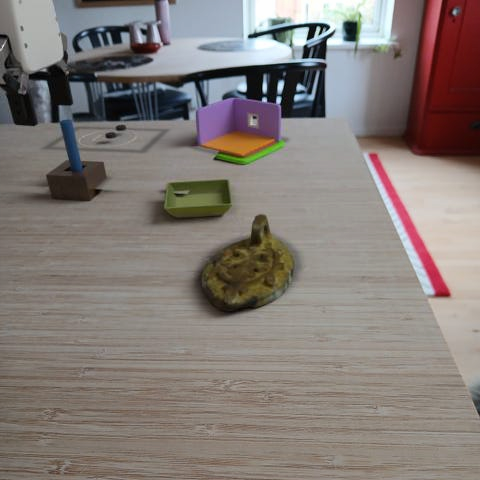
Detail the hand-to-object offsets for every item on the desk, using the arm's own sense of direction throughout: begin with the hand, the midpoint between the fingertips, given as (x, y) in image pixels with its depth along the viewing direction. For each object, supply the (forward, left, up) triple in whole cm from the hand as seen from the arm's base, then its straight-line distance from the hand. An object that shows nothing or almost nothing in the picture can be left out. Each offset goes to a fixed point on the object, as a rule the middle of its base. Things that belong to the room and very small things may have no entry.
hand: (45, 114), depth 71 cm
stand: (+4, -2, -10) cm, 11 cm away
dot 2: (0, +21, -9) cm, 23 cm away
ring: (-1, +19, -10) cm, 22 cm away
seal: (+33, -21, -11) cm, 40 cm away
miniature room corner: (+23, +19, -11) cm, 31 cm away
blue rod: (+4, -2, -10) cm, 11 cm away
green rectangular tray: (+23, -5, -11) cm, 25 cm away
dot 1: (0, +17, -9) cm, 19 cm away
